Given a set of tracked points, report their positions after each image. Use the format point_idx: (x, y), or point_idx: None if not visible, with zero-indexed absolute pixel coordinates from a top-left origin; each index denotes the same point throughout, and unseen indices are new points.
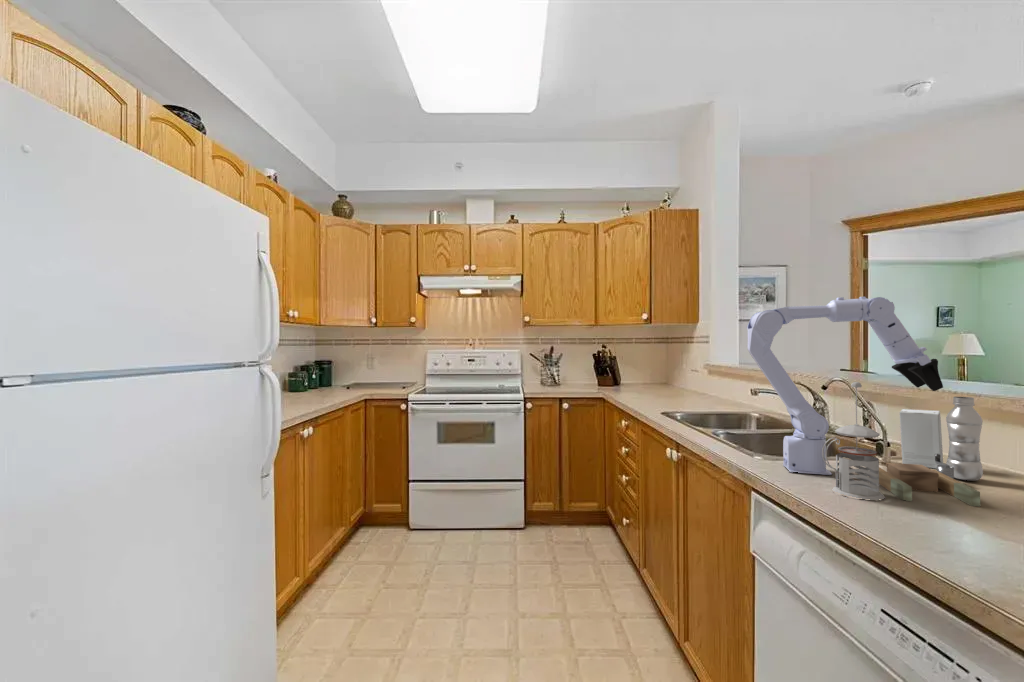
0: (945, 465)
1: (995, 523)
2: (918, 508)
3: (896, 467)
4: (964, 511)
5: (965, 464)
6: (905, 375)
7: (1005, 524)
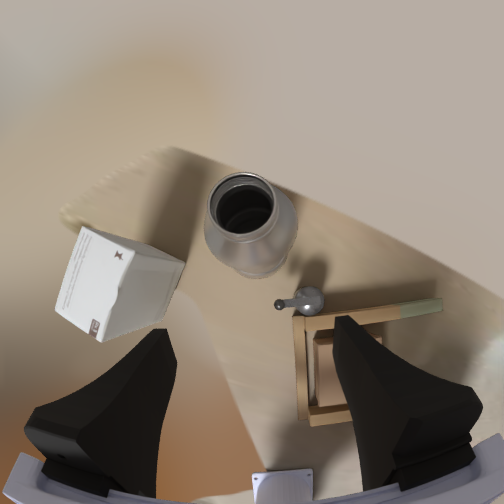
0: (320, 303)
1: (484, 307)
2: (456, 379)
3: None
4: (455, 327)
5: (285, 255)
6: (159, 439)
7: (484, 297)
